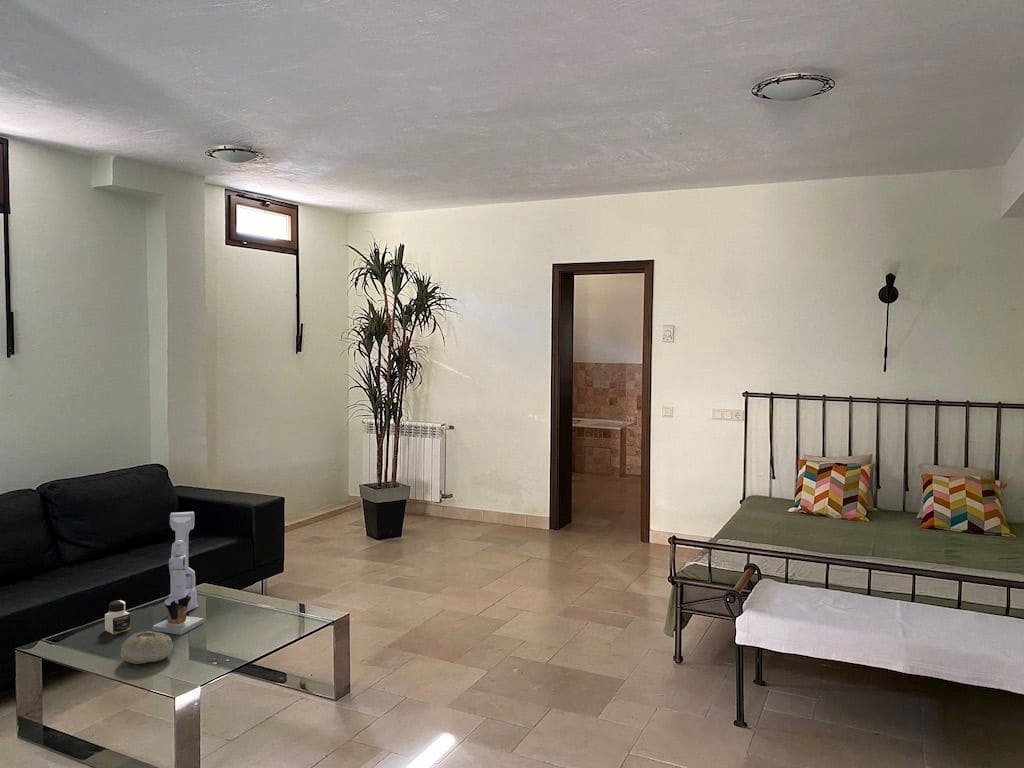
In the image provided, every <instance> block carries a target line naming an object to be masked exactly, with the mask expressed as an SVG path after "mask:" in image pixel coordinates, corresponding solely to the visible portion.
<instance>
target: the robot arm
mask: <svg viewBox="0 0 1024 768" xmlns="http://www.w3.org/2000/svg"><path fill="white" fill-rule="evenodd" d="M195 517H196V516H195V512H194V511H183V512H182V511H180V512H179V511H178V512H172V511H171V513H170V514H169V526H170V528H171V529H172V531H175V536H174V537H175V541H174V542H173V543H172V544H171V551H170V552H171V554H170V558H169V559H168V569H169V575H170V594H168V597H167V598H166V599H165V600H164V606H165V607H166V608H167V611H168V610H169V613H170V616H171V619H177V611H178V607H179V606H186V613H188V612H190V611H191V610H194V609H197V608H198V607H199V605H198V591H197V589H196V571H195V570H194V569H192V568H191V567H189V534H190V531H192V530H194V528H195Z"/></svg>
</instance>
